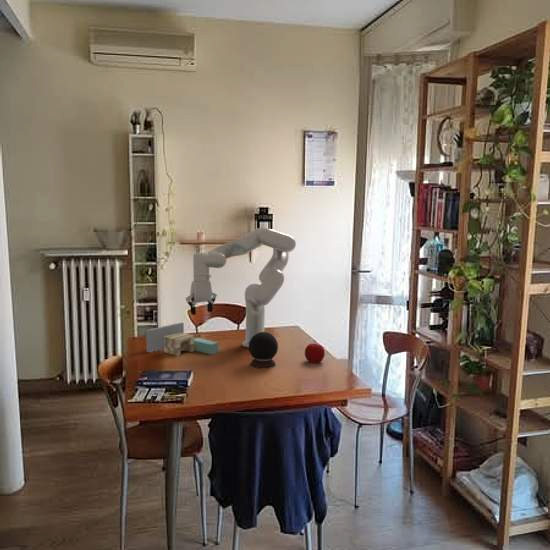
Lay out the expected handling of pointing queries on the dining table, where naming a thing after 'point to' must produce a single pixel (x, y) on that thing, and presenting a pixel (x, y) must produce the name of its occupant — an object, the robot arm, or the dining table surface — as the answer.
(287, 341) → the dining table surface
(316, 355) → the apple
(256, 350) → the snow globe
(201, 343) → the peg
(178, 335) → the block
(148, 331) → the wall
